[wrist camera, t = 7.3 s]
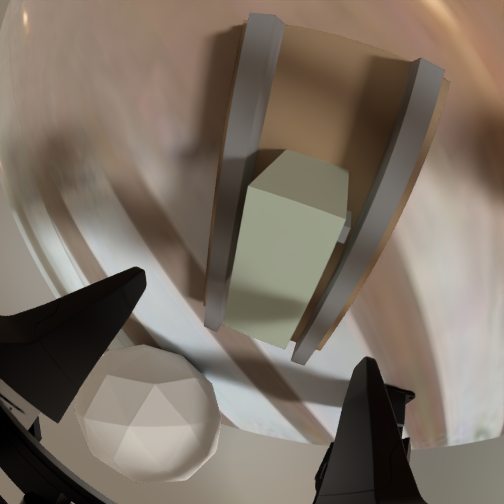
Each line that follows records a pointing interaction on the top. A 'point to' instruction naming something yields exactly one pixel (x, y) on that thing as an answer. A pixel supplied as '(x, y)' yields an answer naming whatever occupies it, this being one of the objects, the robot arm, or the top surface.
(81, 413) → the ball
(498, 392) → the top surface
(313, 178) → the sage green box
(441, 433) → the top surface
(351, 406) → the robot arm
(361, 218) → the track board
